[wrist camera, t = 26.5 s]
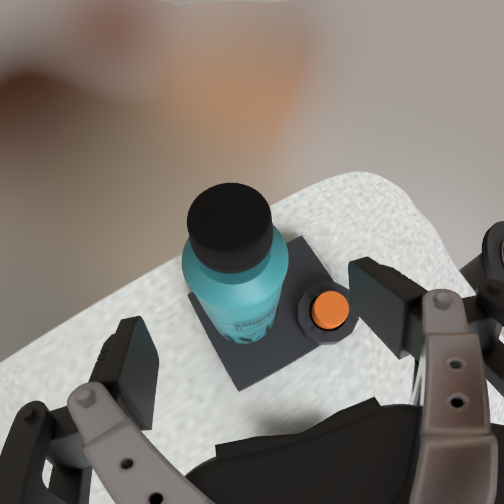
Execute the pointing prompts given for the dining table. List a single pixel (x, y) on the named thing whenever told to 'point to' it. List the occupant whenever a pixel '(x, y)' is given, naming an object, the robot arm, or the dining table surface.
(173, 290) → the dining table surface
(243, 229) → the beverage bottle
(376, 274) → the robot arm
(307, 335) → the scale
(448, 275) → the dining table surface
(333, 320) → the button
